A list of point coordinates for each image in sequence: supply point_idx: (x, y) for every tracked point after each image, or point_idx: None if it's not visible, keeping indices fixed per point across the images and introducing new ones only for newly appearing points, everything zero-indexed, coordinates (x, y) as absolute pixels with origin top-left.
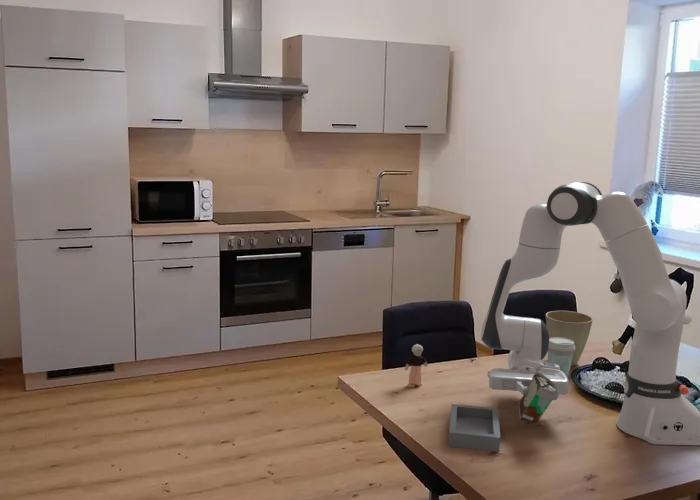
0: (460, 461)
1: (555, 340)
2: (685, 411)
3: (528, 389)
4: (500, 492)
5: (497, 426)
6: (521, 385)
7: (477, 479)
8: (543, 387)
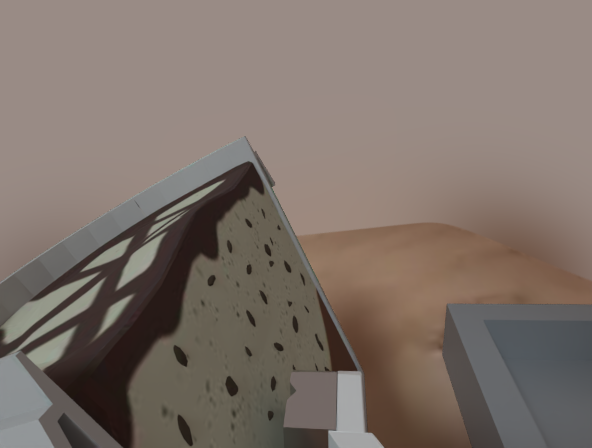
0: (550, 291)
1: None
2: None
3: None
4: (405, 227)
5: (491, 388)
6: (362, 440)
7: (467, 246)
8: (182, 212)
